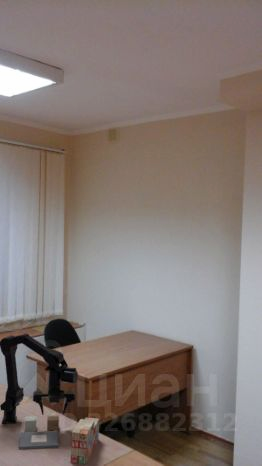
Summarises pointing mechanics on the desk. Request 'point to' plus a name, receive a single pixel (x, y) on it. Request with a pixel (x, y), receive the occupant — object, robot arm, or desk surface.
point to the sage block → (30, 423)
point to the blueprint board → (38, 440)
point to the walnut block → (53, 422)
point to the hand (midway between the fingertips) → (53, 414)
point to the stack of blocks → (84, 440)
